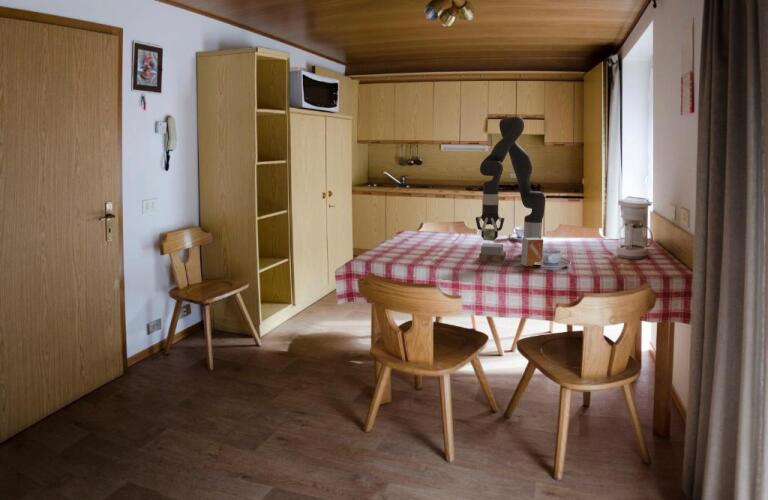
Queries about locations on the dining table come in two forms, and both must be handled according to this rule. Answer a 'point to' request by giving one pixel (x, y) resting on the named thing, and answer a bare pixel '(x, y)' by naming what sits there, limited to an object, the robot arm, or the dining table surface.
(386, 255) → the dining table surface
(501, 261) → the walnut base block
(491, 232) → the sage cube
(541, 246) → the small box
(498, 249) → the slate top block
